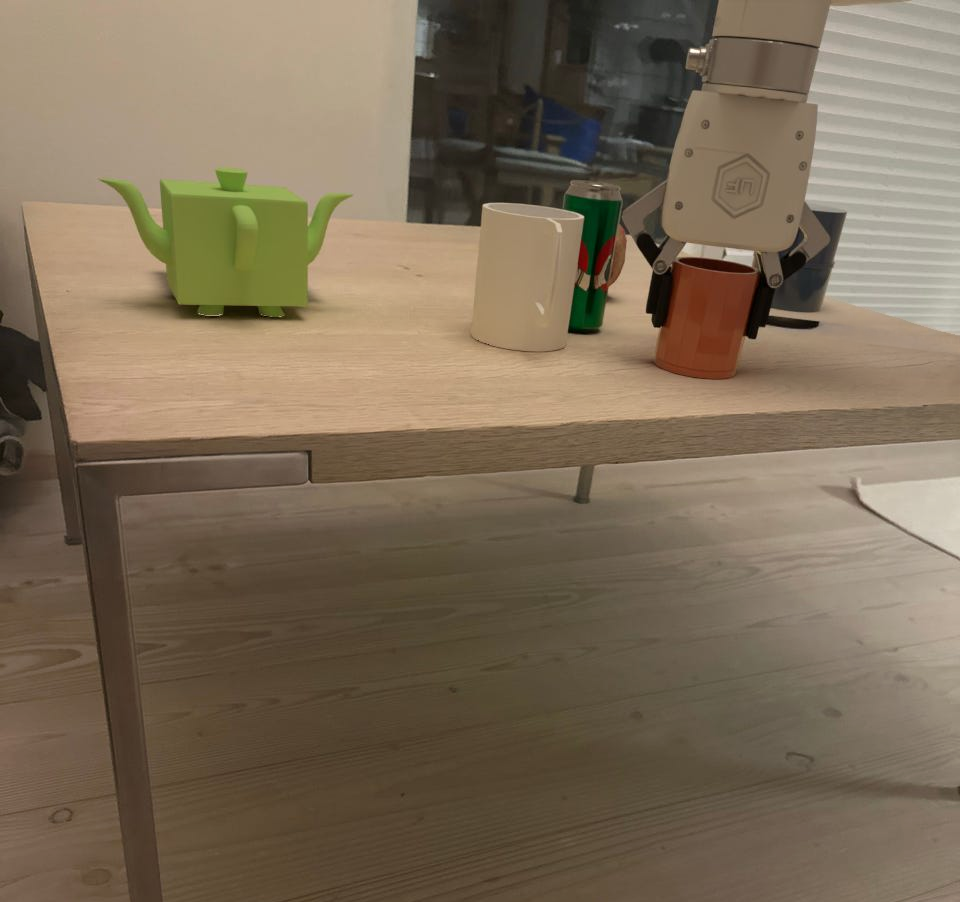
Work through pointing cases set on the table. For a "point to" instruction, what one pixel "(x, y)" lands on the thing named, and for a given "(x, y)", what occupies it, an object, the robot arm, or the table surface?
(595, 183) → the soda can
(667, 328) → the terracotta cup
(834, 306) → the table surface
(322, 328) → the table surface
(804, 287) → the cup stack
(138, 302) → the table surface
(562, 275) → the cup
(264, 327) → the table surface
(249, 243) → the teapot
